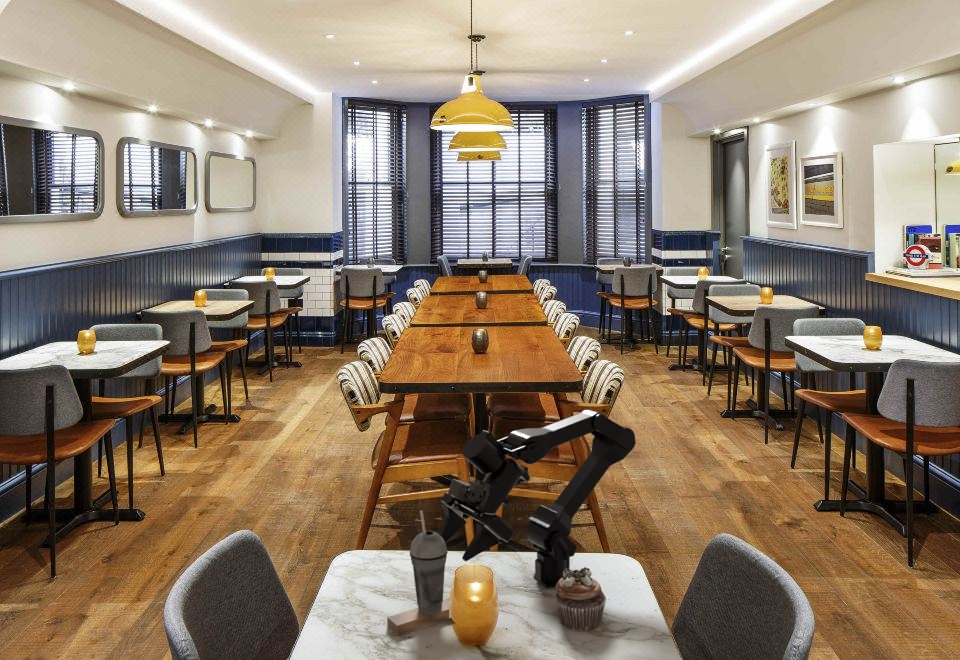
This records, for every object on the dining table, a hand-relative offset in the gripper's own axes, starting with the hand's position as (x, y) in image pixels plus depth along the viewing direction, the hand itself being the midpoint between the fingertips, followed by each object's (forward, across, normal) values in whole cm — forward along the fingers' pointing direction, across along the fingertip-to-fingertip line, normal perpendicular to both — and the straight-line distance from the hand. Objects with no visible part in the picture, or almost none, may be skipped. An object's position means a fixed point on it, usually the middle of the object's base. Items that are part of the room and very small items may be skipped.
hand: (451, 552), depth 162 cm
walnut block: (+12, 0, +5) cm, 13 cm away
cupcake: (-4, +17, +22) cm, 28 cm away
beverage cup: (+11, 0, +4) cm, 12 cm away
